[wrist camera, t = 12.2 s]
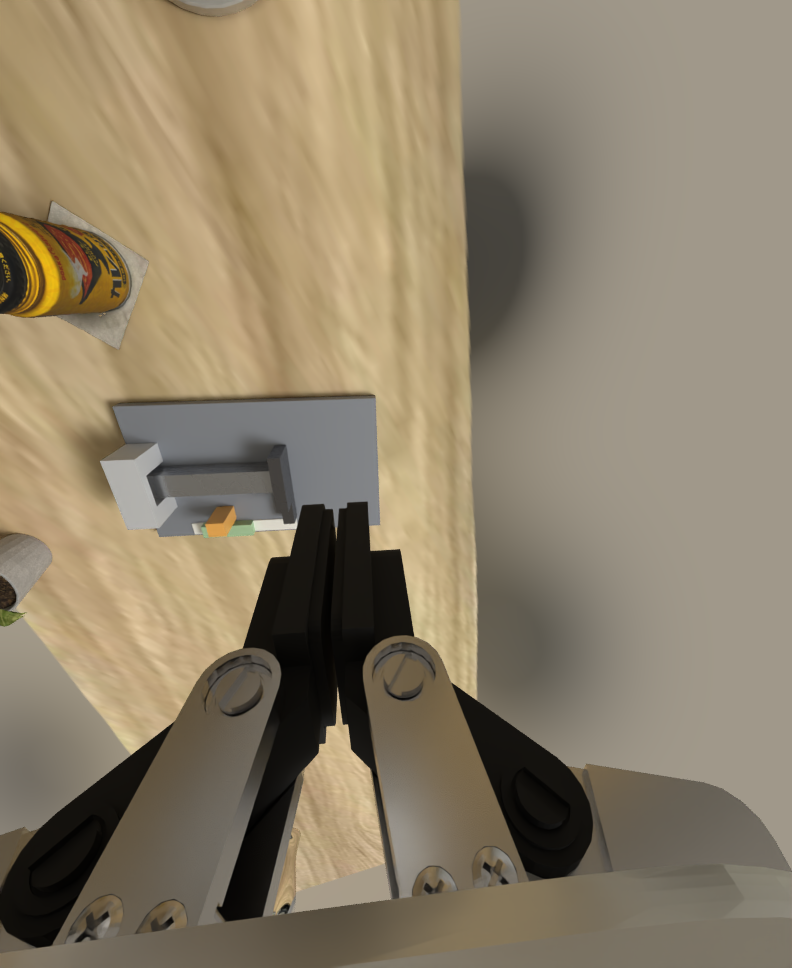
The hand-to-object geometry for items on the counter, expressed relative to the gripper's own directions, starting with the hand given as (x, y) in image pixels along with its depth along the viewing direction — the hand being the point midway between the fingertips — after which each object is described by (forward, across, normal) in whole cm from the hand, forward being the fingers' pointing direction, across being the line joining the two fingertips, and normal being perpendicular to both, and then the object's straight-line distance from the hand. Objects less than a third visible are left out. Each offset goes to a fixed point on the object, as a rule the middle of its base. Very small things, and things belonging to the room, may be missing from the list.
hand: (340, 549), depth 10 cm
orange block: (+28, +15, +17) cm, 36 cm away
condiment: (+31, +22, -6) cm, 38 cm away
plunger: (+29, +15, +13) cm, 35 cm away
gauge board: (+30, +10, +12) cm, 34 cm away
